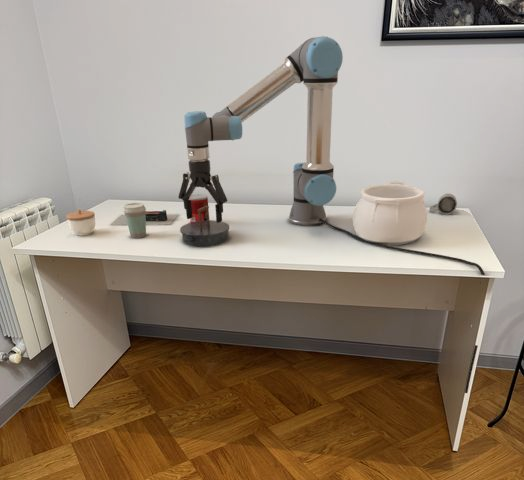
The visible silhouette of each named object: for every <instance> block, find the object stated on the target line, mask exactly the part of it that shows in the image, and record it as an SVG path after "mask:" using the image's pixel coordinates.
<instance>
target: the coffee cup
mask: <svg viewBox="0 0 524 480" xmlns="http://www.w3.org/2000/svg"><path fill="white" fill-rule="evenodd" d="M145 210H147V208H146V206H145V204H144V203H142V202H130V203H127V204H124V205H123V209H122V212H123V213H124V215H125V217H126V220H127V224H128V225H127V227H128V230H129V234H130V237H131V238H132V239H142V238H145V237H146V236H147V225H146V217H145Z"/></svg>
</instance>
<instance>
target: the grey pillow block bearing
mask: <svg viewBox="0 0 524 480" xmlns="http://www.w3.org/2000/svg"><path fill="white" fill-rule="evenodd" d="M457 207H458V201H457V198H456V196H455V195H454V194H453V193H444V194H442V195H441V196H440V197H439V199H438V202H437V203H436V204H434V205H432V206H429V212H431V213H432V212H433V213H434V212H437V211H438V212H439V213H440V214H441V215H451V214H453V213H454V212H455V211H456V210H457Z"/></svg>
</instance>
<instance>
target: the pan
mask: <svg viewBox="0 0 524 480" xmlns="http://www.w3.org/2000/svg"><path fill="white" fill-rule="evenodd" d="M181 237H182V242H183V244H185V245H187V246H189V247H191V246H192V247H198V248H199V247H201V248H203V247H207V248H208V247H215V246H219V245H222V244H225V243H226V242H228V241H229V239H230V229H229V230H228V231H227V232H225V233H222V234H219V235H215V236H208V237H193V236H187V235H184V234H182V233H181Z"/></svg>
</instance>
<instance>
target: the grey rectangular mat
mask: <svg viewBox="0 0 524 480" xmlns="http://www.w3.org/2000/svg"><path fill="white" fill-rule="evenodd" d="M177 216H178V214H167V210H166V209H146V210H145V217H146V226H152V225H153V226H155V225H156V226H159V225H160V226H161V225H162V226H164V225H165V226H167V225H168V226H170V225H171V224H172V223H173V222H174V220H176V218H177ZM111 226H128V224H127V220H126V217H125V214H122V215H121V216H120V217H119V218H118V219H116V221H114V222H113V223H112V224H111Z"/></svg>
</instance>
